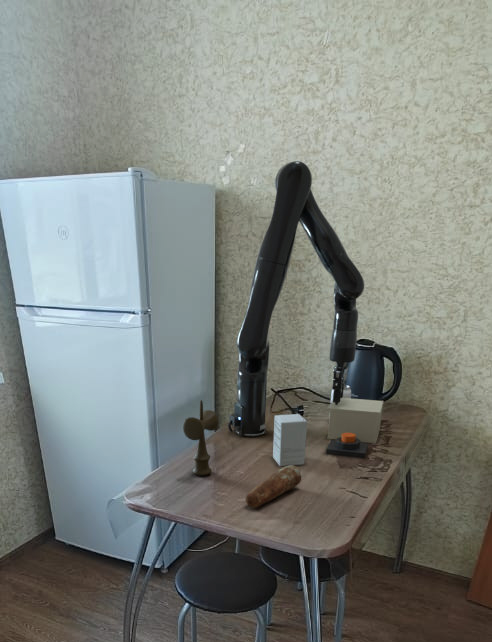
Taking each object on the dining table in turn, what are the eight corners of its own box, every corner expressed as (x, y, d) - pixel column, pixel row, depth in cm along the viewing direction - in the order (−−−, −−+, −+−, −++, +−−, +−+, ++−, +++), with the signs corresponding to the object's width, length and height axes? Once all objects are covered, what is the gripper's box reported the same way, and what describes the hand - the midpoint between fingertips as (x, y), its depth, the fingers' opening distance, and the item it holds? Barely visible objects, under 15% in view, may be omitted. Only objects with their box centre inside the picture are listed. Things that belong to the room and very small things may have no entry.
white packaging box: (296, 456, 167) (299, 413, 161) (304, 465, 160) (308, 420, 154) (272, 457, 166) (274, 414, 160) (278, 466, 159) (281, 422, 153)
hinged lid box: (327, 438, 181) (330, 410, 177) (333, 426, 192) (336, 400, 188) (375, 443, 176) (379, 415, 172) (379, 430, 188) (383, 403, 184)
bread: (302, 487, 146) (304, 467, 143) (258, 512, 133) (259, 490, 130) (281, 481, 150) (282, 461, 147) (236, 505, 137) (237, 483, 134)
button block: (325, 454, 168) (326, 443, 166) (330, 444, 175) (331, 433, 174) (364, 458, 165) (365, 446, 163) (367, 448, 172) (368, 437, 171)
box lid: (327, 410, 177) (328, 394, 175) (334, 399, 188) (335, 384, 186) (379, 415, 172) (382, 398, 170) (383, 403, 184) (385, 387, 181)
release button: (340, 442, 167) (340, 435, 167) (342, 438, 171) (342, 431, 170) (354, 444, 166) (355, 437, 165) (355, 440, 170) (356, 433, 169)
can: (325, 420, 198) (328, 385, 193) (340, 418, 201) (344, 383, 195) (336, 425, 193) (339, 389, 188) (352, 423, 195) (356, 387, 190)
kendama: (183, 477, 153) (181, 403, 143) (201, 466, 160) (200, 394, 151) (202, 481, 150) (202, 406, 141) (220, 469, 157) (220, 397, 148)
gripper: (353, 349, 166) (346, 406, 174) (358, 341, 178) (352, 395, 186) (327, 347, 169) (322, 404, 176) (334, 340, 181) (329, 393, 188)
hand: (337, 399), depth 181 cm, fingers closed on box lid, 5 cm apart
